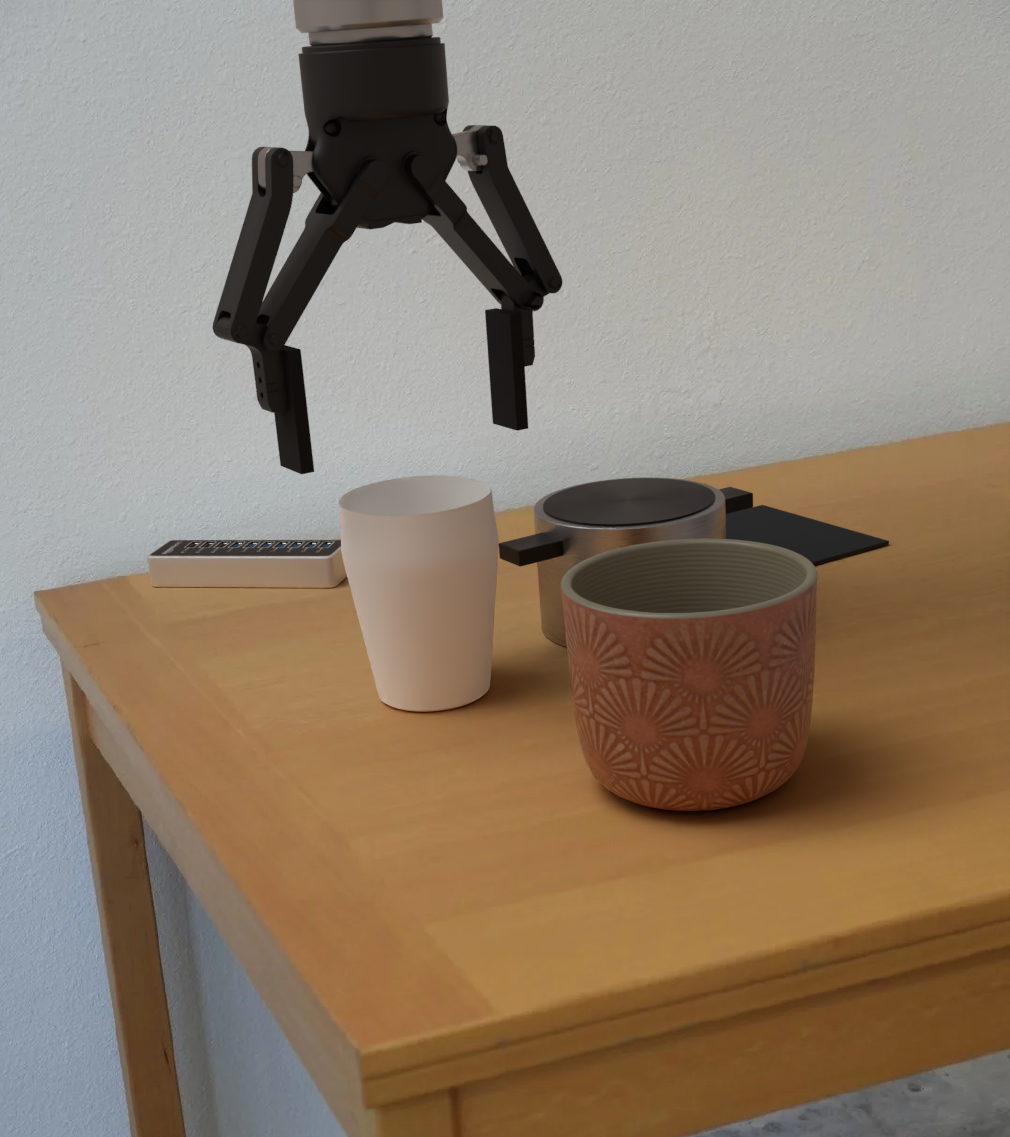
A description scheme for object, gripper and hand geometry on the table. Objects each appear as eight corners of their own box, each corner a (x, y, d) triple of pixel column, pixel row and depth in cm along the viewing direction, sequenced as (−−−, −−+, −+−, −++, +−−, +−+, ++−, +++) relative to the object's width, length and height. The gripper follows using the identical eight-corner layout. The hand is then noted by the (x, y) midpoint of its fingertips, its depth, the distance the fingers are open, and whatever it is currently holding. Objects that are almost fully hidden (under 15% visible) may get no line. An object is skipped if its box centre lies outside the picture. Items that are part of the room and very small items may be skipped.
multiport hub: (334, 587, 122) (331, 556, 121) (149, 586, 125) (144, 556, 124) (354, 569, 125) (351, 538, 125) (174, 568, 129) (169, 539, 128)
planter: (746, 852, 79) (741, 629, 75) (526, 802, 86) (510, 595, 82) (858, 755, 88) (860, 552, 84) (651, 717, 95) (643, 528, 91)
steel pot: (803, 612, 109) (802, 489, 106) (570, 681, 101) (561, 549, 98) (689, 572, 119) (685, 457, 116) (467, 632, 111) (457, 510, 107)
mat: (889, 544, 121) (889, 540, 121) (734, 588, 115) (734, 583, 115) (762, 508, 132) (762, 504, 132) (615, 546, 126) (614, 542, 126)
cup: (391, 662, 106) (371, 474, 102) (529, 668, 104) (514, 474, 99) (335, 717, 99) (309, 515, 94) (482, 725, 96) (464, 517, 91)
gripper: (536, 23, 96) (556, 400, 104) (112, 54, 84) (173, 476, 93) (613, 18, 90) (628, 419, 98) (167, 51, 78) (227, 501, 87)
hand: (407, 447), depth 95 cm, fingers open, 13 cm apart
